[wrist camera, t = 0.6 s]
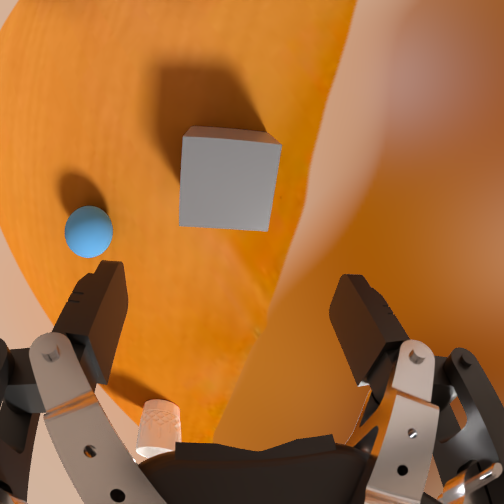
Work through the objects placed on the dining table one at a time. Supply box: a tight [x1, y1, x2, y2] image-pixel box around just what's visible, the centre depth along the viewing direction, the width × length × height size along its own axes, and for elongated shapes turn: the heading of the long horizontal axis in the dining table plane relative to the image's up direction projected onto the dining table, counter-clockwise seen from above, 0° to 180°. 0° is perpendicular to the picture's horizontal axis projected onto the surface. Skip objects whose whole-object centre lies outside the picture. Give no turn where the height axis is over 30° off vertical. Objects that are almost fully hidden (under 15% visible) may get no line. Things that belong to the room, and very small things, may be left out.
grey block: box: [179, 126, 282, 231], centre depth 23 cm, size 7×7×7 cm
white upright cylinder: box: [136, 399, 181, 458], centre depth 42 cm, size 8×8×10 cm
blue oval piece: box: [65, 206, 113, 258], centre depth 25 cm, size 5×5×5 cm
